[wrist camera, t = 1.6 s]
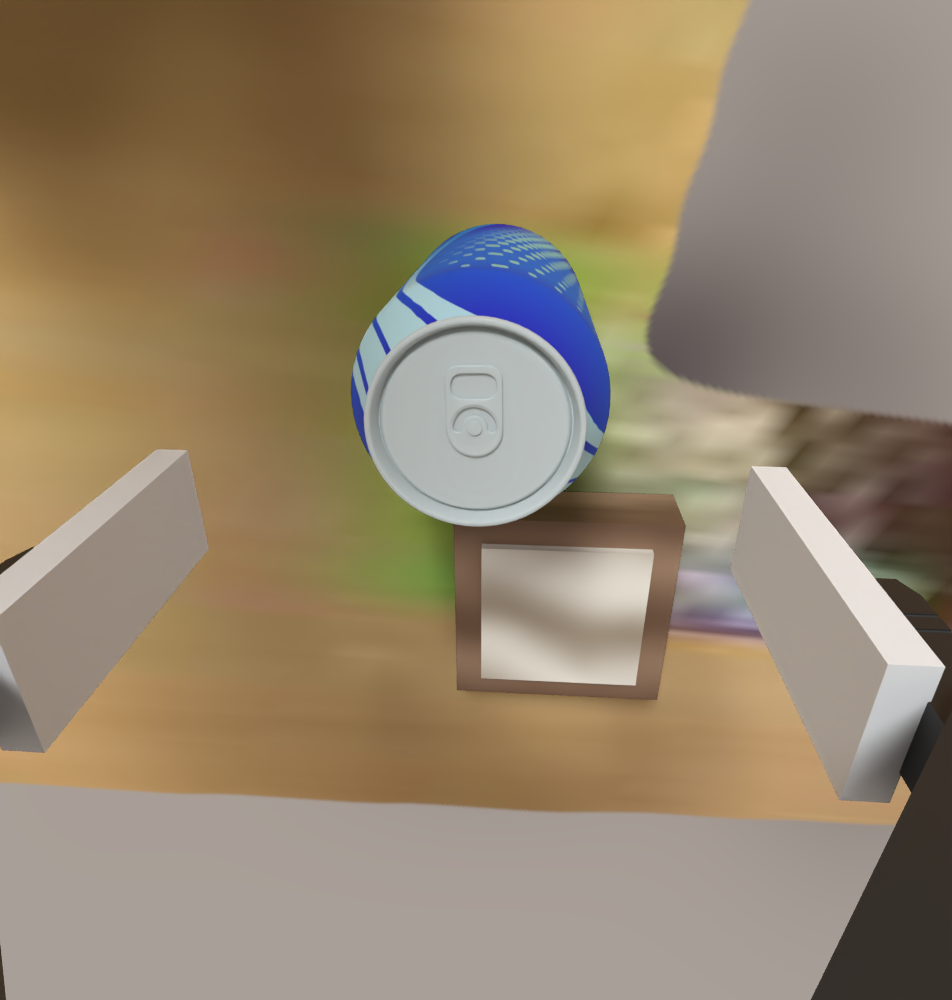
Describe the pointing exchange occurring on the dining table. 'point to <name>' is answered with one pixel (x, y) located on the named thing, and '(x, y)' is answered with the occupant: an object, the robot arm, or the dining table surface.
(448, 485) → the beer can
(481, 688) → the base slab
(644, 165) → the dining table surface
